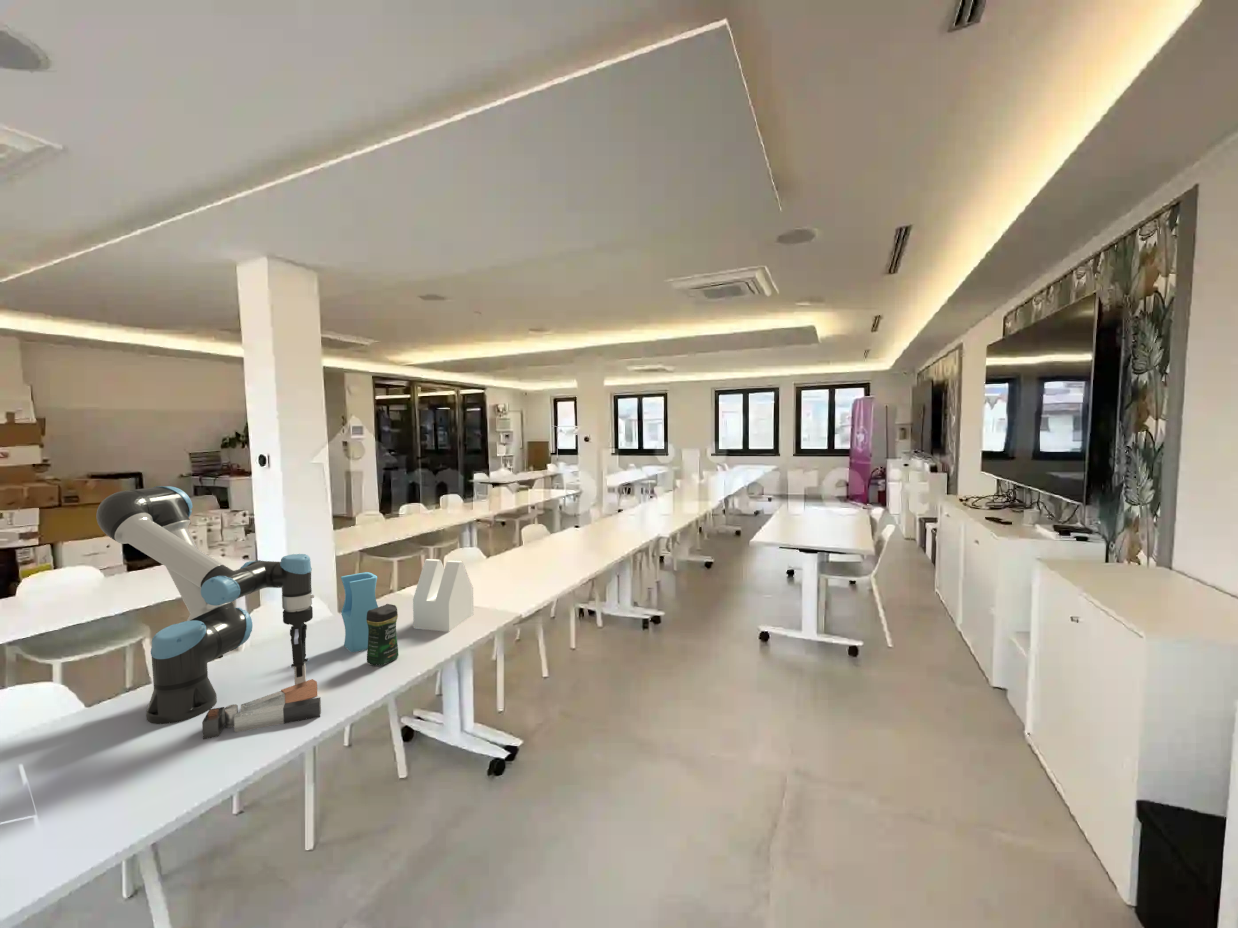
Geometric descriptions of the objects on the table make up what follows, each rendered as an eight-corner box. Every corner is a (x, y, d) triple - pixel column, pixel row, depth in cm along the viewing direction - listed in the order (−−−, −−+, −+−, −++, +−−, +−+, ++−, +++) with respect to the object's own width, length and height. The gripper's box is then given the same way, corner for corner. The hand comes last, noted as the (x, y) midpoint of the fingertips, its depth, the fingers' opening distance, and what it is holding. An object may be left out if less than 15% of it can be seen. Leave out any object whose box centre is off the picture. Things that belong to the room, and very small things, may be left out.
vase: (342, 644, 195) (340, 576, 194) (370, 637, 202) (368, 571, 200) (352, 653, 188) (349, 582, 187) (380, 645, 195) (379, 576, 193)
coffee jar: (380, 668, 177) (378, 612, 175) (362, 664, 180) (361, 609, 178) (403, 656, 185) (402, 603, 184) (386, 652, 189) (384, 600, 187)
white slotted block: (449, 631, 208) (448, 567, 206) (413, 628, 212) (412, 565, 210) (473, 614, 227) (472, 556, 225) (440, 611, 230) (439, 553, 229)
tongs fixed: (203, 739, 136) (202, 718, 135) (210, 726, 142) (209, 705, 141) (319, 717, 146) (319, 698, 146) (322, 706, 152) (321, 687, 152)
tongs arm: (227, 728, 140) (226, 711, 140) (223, 725, 142) (222, 707, 142) (317, 695, 158) (316, 679, 157) (313, 692, 160) (312, 676, 159)
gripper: (309, 612, 155) (312, 692, 156) (314, 599, 167) (317, 673, 168) (279, 616, 152) (282, 698, 153) (285, 602, 163) (288, 678, 165)
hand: (300, 685), depth 161 cm, fingers closed
